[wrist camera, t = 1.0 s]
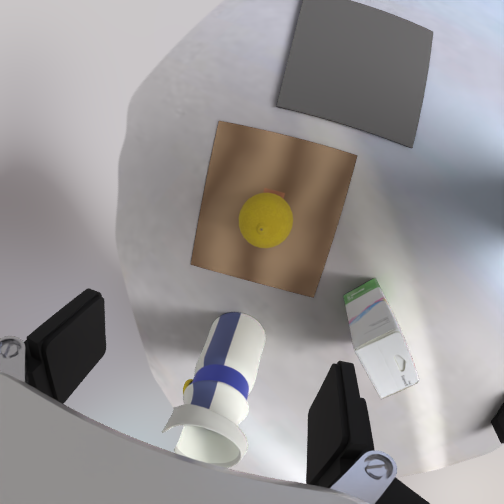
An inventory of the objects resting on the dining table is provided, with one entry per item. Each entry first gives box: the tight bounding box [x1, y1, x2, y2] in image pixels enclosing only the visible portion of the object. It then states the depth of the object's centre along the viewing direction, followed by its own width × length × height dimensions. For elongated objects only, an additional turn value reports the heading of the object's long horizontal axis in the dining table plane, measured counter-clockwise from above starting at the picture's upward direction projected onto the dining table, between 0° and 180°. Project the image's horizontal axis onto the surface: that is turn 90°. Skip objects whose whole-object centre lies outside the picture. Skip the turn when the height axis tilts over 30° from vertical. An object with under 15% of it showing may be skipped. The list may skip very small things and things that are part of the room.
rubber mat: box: [277, 0, 433, 148], centre depth 28 cm, size 16×16×1 cm
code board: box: [191, 121, 357, 298], centre depth 36 cm, size 16×18×1 cm
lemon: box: [239, 193, 293, 248], centre depth 32 cm, size 6×6×8 cm
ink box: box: [343, 278, 420, 399], centre depth 33 cm, size 9×5×12 cm, turn 33°
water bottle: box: [162, 312, 266, 468], centre depth 30 cm, size 8×9×25 cm
